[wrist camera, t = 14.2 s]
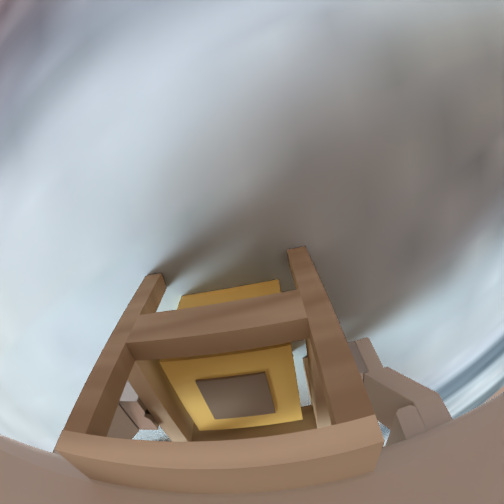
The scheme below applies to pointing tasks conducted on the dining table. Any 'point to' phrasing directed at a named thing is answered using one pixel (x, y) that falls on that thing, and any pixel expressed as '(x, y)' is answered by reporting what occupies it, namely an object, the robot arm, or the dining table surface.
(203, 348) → the tan square stool
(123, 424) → the robot arm
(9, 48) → the dining table surface
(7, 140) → the dining table surface
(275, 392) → the letter block
